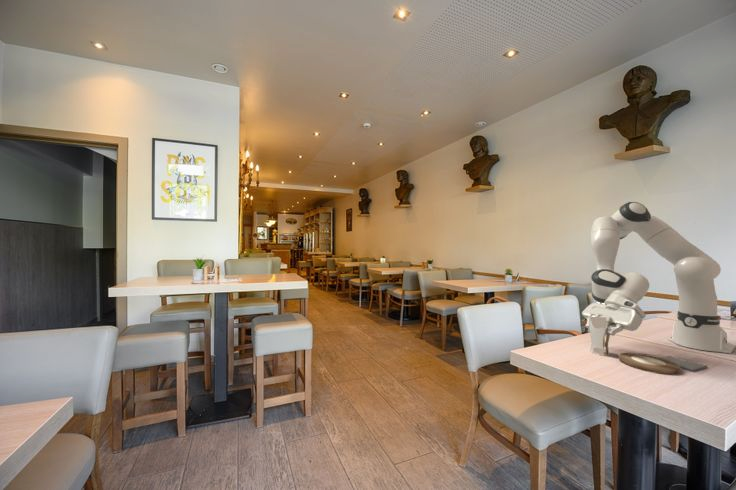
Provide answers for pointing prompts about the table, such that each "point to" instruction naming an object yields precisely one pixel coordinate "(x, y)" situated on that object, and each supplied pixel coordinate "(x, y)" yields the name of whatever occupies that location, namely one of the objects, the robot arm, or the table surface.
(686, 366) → the square charcoal tile
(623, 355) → the round walnut board
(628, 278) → the robot arm
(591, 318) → the beer glass
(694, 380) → the table surface
